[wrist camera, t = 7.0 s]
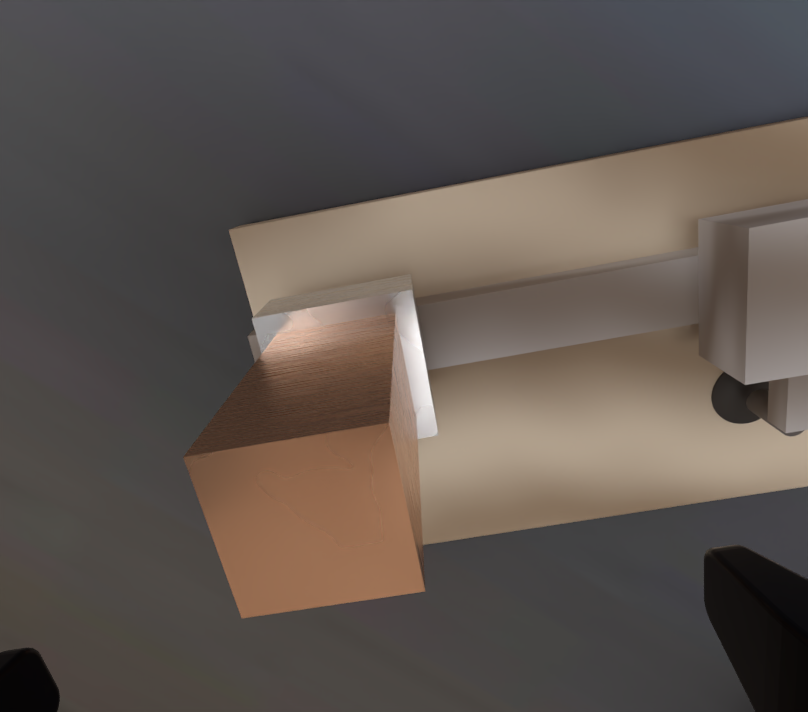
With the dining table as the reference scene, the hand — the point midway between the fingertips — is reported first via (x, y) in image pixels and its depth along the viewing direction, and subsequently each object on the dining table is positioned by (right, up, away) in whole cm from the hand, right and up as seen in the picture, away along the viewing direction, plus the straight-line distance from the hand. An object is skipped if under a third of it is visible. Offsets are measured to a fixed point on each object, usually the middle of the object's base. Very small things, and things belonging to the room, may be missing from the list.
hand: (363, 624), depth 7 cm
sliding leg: (-1, +3, +9) cm, 10 cm away
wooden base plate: (+5, +4, +11) cm, 13 cm away
